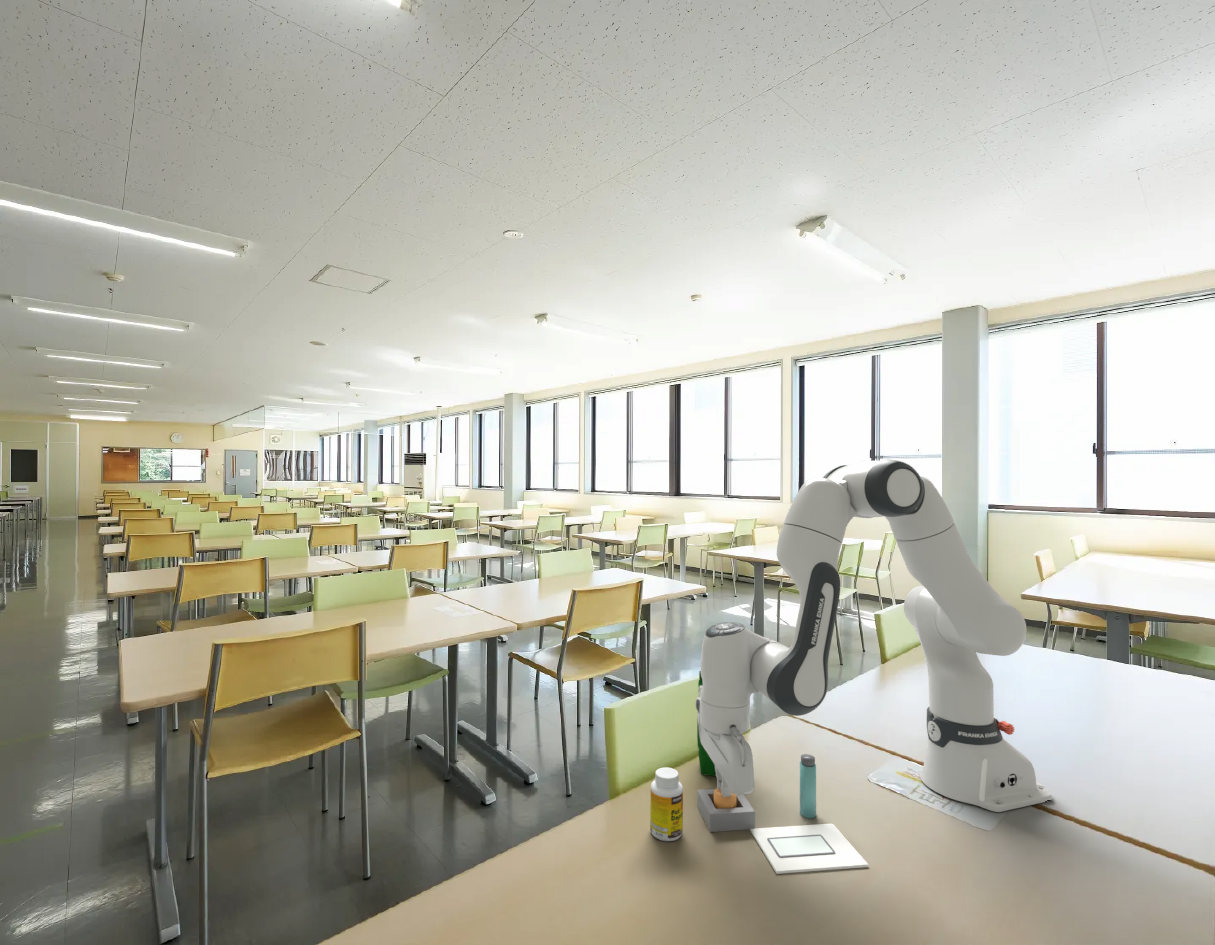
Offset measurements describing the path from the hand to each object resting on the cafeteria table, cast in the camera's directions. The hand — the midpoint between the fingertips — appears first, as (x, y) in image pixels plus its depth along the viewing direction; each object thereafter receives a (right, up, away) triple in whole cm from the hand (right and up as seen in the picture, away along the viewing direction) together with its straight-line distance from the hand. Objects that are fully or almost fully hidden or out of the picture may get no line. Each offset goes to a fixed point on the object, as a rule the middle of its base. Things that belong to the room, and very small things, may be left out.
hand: (724, 793), depth 103 cm
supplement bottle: (-11, -4, -5) cm, 13 cm away
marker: (+15, -5, +1) cm, 16 cm away
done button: (0, -3, 0) cm, 3 cm away
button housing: (0, -4, 0) cm, 4 cm away
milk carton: (+3, -5, +18) cm, 19 cm away
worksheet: (+12, -4, -9) cm, 15 cm away
